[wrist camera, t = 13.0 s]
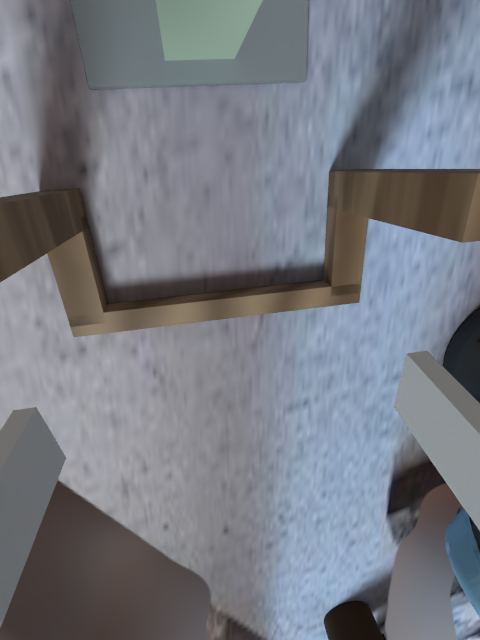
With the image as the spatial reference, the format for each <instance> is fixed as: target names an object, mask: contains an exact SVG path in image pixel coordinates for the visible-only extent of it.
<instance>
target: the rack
mask: <svg viewBox="0 0 480 640" xmlns="http://www.w3.org/2000/svg"><path fill="white" fill-rule="evenodd" d="M368 218H370V219H374V220H378V221H382V222H386V223H389V224H393V225H397V226H401V227H405V228H409V229H412V230H416V231H420V232H424V233H428V234H432V235H435V236H439V237H443V238H447V239H451V240H455V241H458V242H472V241H480V169H356V170H342V171H329V186H328V205H327V223H326V242H325V260H324V279H323V280H321V281H312V282H303V283H294V284H285V285H276V286H267V287H258V288H249V289H240V290H231V291H222V292H213V293H204V294H195V295H186V296H177V297H168V298H159V299H150V300H141V301H132V302H123V303H114V304H108V302H107V298H106V294H105V290H104V286H103V282H102V278H101V274H100V270H99V266H98V262H97V258H96V254H95V250H94V246H93V242H92V238H91V234H90V230H89V226H88V223H87V219H86V215H85V211H84V207H83V203H82V199H81V195H80V191H79V189H68V190H53V191H39V192H33V193H26V194H20V195H13V196H7V197H1V198H0V282H2V281H3V280H5V279H6V278H8V277H10V276H11V275H13V274H14V273H16V272H18V271H19V270H21V269H22V268H24V267H26V266H27V265H29V264H30V263H32V262H34V261H35V260H37V259H38V258H40V257H42V256H43V255H45V254H46V253H48V257H49V260H50V263H51V266H52V269H53V272H54V276H55V279H56V282H57V285H58V288H59V292H60V295H61V298H62V301H63V304H64V307H65V311H66V314H67V317H68V320H69V323H70V326H71V330H72V333H73V336H74V337H79V336H87V335H96V334H104V333H112V332H120V331H128V330H137V329H145V328H153V327H161V326H170V325H178V324H186V323H194V322H202V321H211V320H219V319H227V318H235V317H243V316H252V315H260V314H268V313H276V312H284V311H293V310H301V309H309V308H317V307H326V306H334V305H342V304H350V303H358V302H359V299H360V290H361V281H362V271H363V262H364V252H365V243H366V234H367V224H368Z"/></svg>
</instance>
